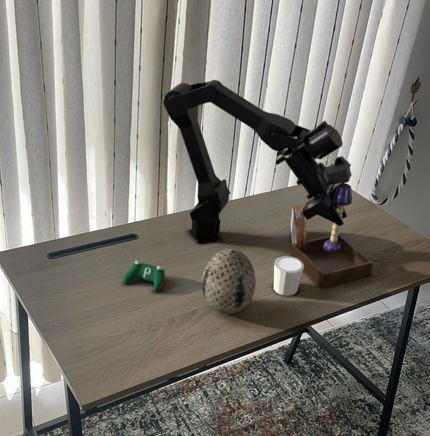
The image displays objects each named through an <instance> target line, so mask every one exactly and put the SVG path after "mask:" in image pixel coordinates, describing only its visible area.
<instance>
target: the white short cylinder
mask: <svg viewBox="0 0 430 436" xmlns="http://www.w3.org/2000/svg"><path fill="white" fill-rule="evenodd" d="M273 268H274V270H273V290H274V291H275V292H276V293H277V294H279V295H282V296H286V297H288V296H289V297H290V296H293V295H295V294H296V293H297V292H298V289H299V286H300V282H301V280H302V275H303V272H304V271H303V269H304V264H303V262H302V261H300V260H299V259H297V258H294V257H290V255H286V256H280V257H278V258H276V259H275V260H274V267H273Z"/></svg>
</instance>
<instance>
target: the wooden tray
mask: <svg viewBox="0 0 430 436" xmlns="http://www.w3.org/2000/svg"><path fill="white" fill-rule="evenodd" d="M331 236H332V235H331V234H330V235H327V236H321V237H317V238H313V239H312V238H311V239H307V240H306V243H305V250H304V252H303V251H301V250H300V249H299V248H298V247H297V246H296V243H294V244H292V243H291V246H290V251H289V252H290V253H289V257H294V258H297V259H299V260H300V261H302V262H303V264H304V269H303V272H304V273H305V274H306V275H307V276H308V277H309V278H310V279H311V280H312V281H313V282H314V283H315V284H316V285H317V286H318V287H320V289H324V288H328V287H331V286H335V285H339V284H343V283H347V282H350V281H354V280H359V279H363V278H367V277H370V276H371V272H372V269H373V264H374V262H373V261H372V260H371V259H370V258H369V257H367V256H366V255H365V254H364V253H362V252H361V250H359V249H358V248H357V247H355V246H354V245H353V244H352V243H351V242H349V241H348V239H347V238H345V237H344V236H342V235H341V234H340V233H339V234H338V236H337V237H338V240H337V241H338V242H339V243H340V245H341V249H340V251H338V252H329V251H327V250H325V249H324V247H323V245H324V243H325V242H326V241H327V240H330V238H331Z"/></svg>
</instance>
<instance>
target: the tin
mask: <svg viewBox="0 0 430 436" xmlns="http://www.w3.org/2000/svg"><path fill="white" fill-rule="evenodd" d="M303 208H304V205H292V207H291V219H290V236H291V245H292V244H294V243H296V246H297V247H298V248H299V249H300V250H301V251H303V252H304V250H305V243H306V241H307V225H306V218H305V216H304V215H303V214H302V212H303Z"/></svg>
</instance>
